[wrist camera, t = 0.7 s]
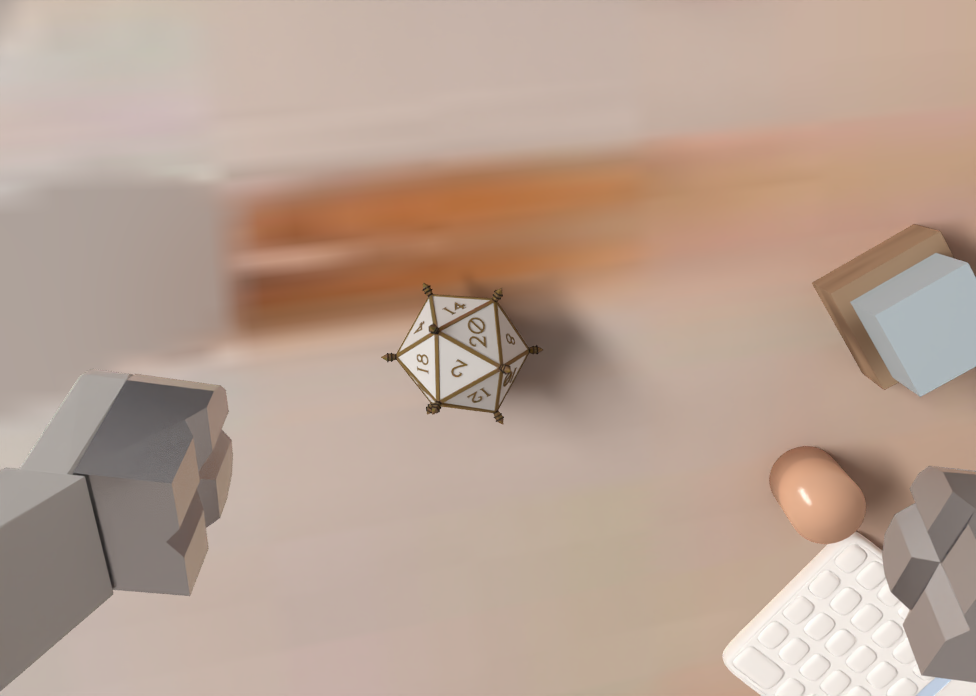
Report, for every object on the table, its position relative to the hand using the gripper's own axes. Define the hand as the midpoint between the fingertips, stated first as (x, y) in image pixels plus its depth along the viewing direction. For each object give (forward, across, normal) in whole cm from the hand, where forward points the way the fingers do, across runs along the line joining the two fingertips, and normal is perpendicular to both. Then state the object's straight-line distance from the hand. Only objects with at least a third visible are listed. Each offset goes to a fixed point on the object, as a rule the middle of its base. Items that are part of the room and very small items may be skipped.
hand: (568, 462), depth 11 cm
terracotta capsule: (+36, +22, -34) cm, 54 cm away
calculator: (+30, +31, -47) cm, 64 cm away
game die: (+39, -1, -28) cm, 49 cm away
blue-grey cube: (+37, +25, -21) cm, 49 cm away
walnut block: (+41, +25, -23) cm, 53 cm away
